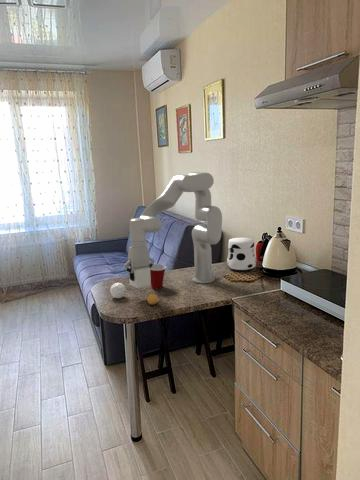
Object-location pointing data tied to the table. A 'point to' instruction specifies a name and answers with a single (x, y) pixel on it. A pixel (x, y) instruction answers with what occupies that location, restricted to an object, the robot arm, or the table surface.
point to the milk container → (241, 254)
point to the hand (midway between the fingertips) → (139, 278)
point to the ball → (152, 299)
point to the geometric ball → (117, 290)
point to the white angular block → (141, 277)
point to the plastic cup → (157, 275)
